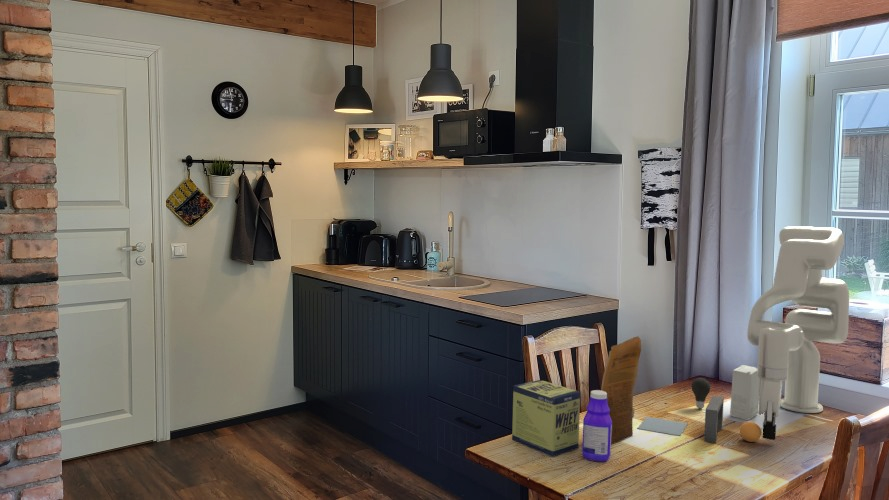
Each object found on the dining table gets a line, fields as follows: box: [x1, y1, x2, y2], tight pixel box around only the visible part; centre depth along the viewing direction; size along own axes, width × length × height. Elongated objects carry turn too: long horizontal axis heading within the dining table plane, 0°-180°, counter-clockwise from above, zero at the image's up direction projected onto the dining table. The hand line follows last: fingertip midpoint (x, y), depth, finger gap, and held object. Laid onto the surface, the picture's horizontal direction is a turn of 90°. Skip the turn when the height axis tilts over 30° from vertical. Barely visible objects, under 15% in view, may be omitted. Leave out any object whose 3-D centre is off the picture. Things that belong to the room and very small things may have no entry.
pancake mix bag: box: [600, 335, 642, 445], centre depth 194 cm, size 7×19×28 cm, turn 133°
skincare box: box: [729, 364, 761, 421], centre depth 216 cm, size 8×6×15 cm
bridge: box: [703, 395, 725, 444], centre depth 198 cm, size 3×14×9 cm, turn 152°
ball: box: [739, 420, 762, 443], centre depth 194 cm, size 6×6×6 cm
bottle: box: [581, 389, 612, 462], centre depth 180 cm, size 7×6×17 cm
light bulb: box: [691, 377, 711, 410], centre depth 222 cm, size 6×6×10 cm
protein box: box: [511, 379, 581, 457], centre depth 189 cm, size 10×16×16 cm
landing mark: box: [636, 416, 688, 437], centre depth 205 cm, size 12×12×1 cm
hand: (768, 438), depth 192 cm, fingers closed
